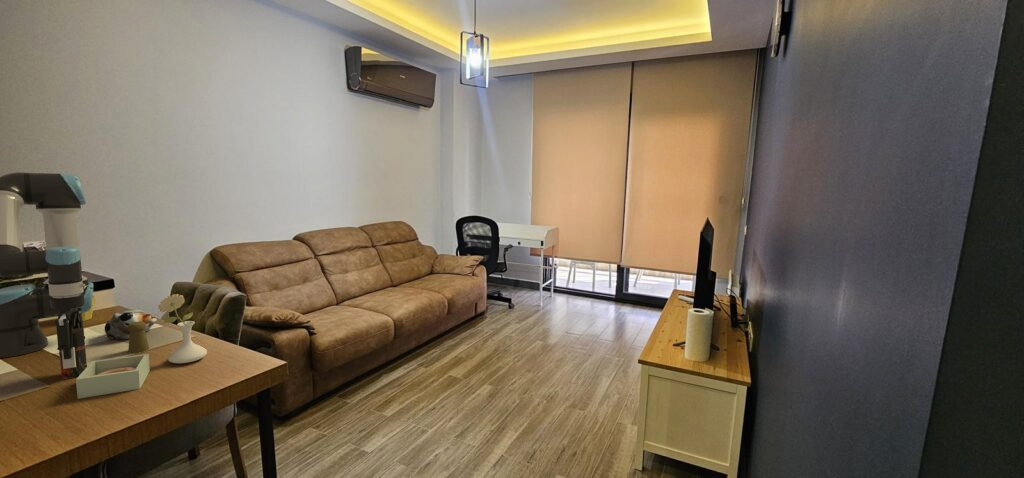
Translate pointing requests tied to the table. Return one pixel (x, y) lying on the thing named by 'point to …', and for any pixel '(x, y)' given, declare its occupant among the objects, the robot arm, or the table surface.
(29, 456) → the table surface
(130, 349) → the cork
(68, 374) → the deodorant
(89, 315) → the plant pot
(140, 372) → the open box
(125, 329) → the lucky cat figurine
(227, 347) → the table surface
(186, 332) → the flower in vase
